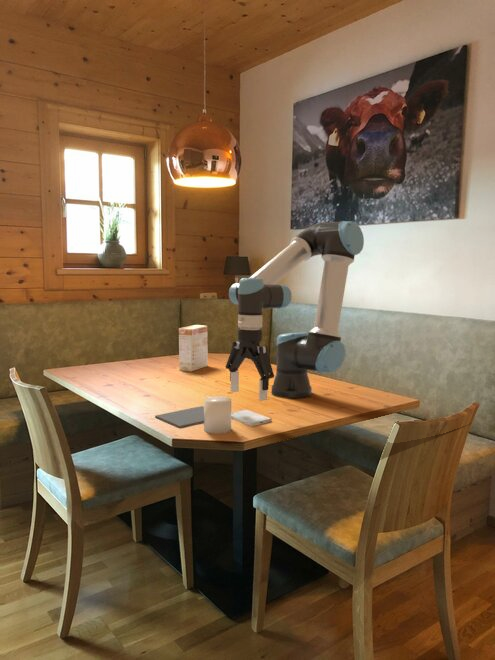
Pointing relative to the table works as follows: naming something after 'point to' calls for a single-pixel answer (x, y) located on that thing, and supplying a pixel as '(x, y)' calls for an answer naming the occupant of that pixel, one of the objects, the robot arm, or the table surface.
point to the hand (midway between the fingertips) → (248, 396)
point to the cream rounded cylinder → (217, 414)
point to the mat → (184, 417)
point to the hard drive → (249, 418)
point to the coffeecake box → (193, 347)
